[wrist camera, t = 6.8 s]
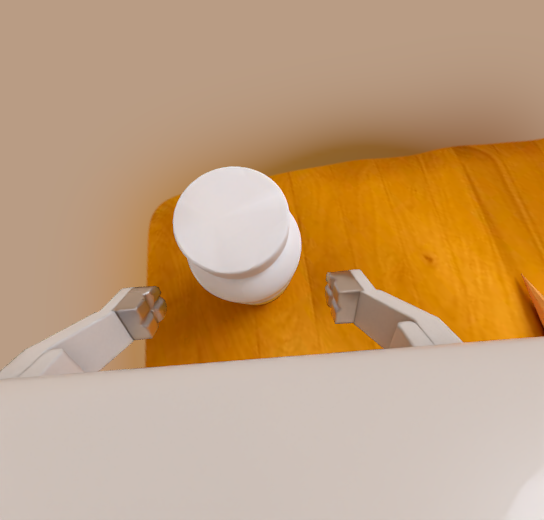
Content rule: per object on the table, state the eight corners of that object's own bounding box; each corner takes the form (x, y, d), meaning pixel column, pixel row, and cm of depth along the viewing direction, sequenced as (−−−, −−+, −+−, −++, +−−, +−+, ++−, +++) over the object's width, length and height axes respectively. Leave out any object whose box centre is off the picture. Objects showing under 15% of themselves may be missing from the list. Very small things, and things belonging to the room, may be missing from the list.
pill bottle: (227, 238, 20) (164, 144, 9) (291, 240, 20) (312, 147, 8) (220, 304, 18) (131, 294, 7) (290, 307, 18) (313, 303, 7)
